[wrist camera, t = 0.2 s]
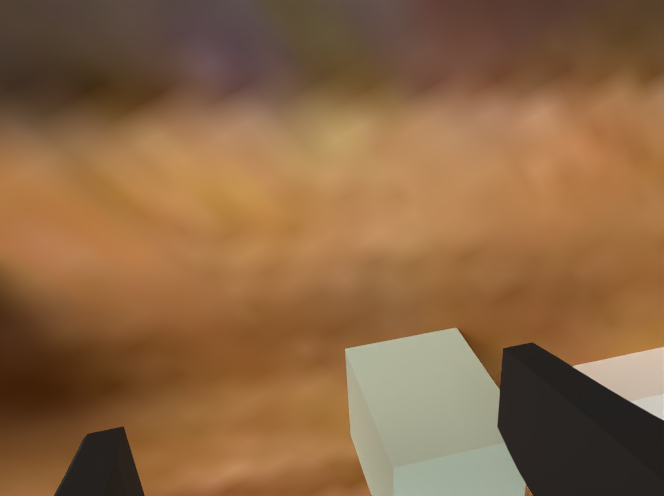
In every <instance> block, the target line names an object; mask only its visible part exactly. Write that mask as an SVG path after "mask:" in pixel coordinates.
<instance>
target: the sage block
mask: <svg viewBox="0 0 664 496" xmlns="http://www.w3.org/2000/svg"><path fill="white" fill-rule="evenodd" d="M345 355H346V371H347V386H348V402H349V418H350V433H351V438H352V441H353V444H354V447H355V449H356V452H357V455H358V458H359V461H360V464H361V467H362V470H363V472H364V475H365V478H366V481H367V484H368V487H369V490H370V493H371V496H524V495H525V488H526V483H525V481H524V480H523V478H522V476H521V475H520V473H519V471H518V469H517V467H516V465H515V463H514V461H513V459H512V457H511V455H510V453H509V451H508V449H507V447H506V445H505V442H504V440H503V438H502V436H501V434H500V432H499V429H498V427H497V423H498V411H499V398H500V390H499V388H498V387H497V385H496V384H495V382H494V381H493V380H492V378H491V377H490V375H489V374H488V372H487V371H486V369H485V368H484V367H483V365H482V364H481V362H480V361H479V359H478V358H477V356H476V355H475V354H474V352H473V351H472V349H471V348H470V346H469V345H468V343H467V342H466V341H465V339H464V338H463V336H462V335H461V333H460V332H459V330H458V329H457V328H451V329H446V330H441V331H436V332H431V333H425V334H420V335H415V336H410V337H405V338H399V339H394V340H389V341H384V342H379V343H373V344H368V345H363V346H358V347H352V348H347V349H345Z"/></svg>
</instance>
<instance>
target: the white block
mask: <svg viewBox="0 0 664 496" xmlns="http://www.w3.org/2000/svg"><path fill="white" fill-rule="evenodd" d="M572 367H574V368H575V369H577V370H579V371H580V372H582V373H583V374H585V375H587V376H588V377H590V378H592V379H593V380H595V381H596V382H598V383H600V384H601V385H603V386H605V387H606V388H608V389H610V390H611V391H613V392H615V393H616V394H618V395H620V396H621V397H623V398H625V399H627V400H628V401H630V402H632V403H633V404H635V405H637V406H639V407H640V408H642V409H644V410H646V411H648V412H649V413H651V414H653V415H655V416H657V417H658V418H660V419H662V420H664V347H661V348H656V349H652V350H647V351H642V352H637V353H632V354H628V355H623V356H618V357H613V358H608V359H604V360H599V361H594V362H589V363H584V364H580V365H575V366H572Z"/></svg>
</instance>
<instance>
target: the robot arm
mask: <svg viewBox="0 0 664 496" xmlns="http://www.w3.org/2000/svg"><path fill="white" fill-rule="evenodd" d="M497 427H498V429H499V432H500V434H501V436H502V438H503V440H504V442H505V445H506V447H507V449H508V451H509V453H510V455H511V457H512V459H513V461H514V463H515V465H516V467H517V469H518V471H519V473H520V475H521V476H522V478H523V480H524V481H525V483H526V484H527V486H528V487H529V489H530V491H531V492H532V494H533V495H534V496H664V420H662V419H660V418H658V417H657V416H655V415H653V414H651V413H649V412H648V411H646V410H644V409H642V408H640V407H639V406H637V405H635V404H633V403H632V402H630V401H628V400H627V399H625V398H623V397H621V396H620V395H618V394H616V393H615V392H613V391H611V390H610V389H608V388H606V387H605V386H603V385H601V384H600V383H598V382H596V381H595V380H593V379H592V378H590V377H588V376H587V375H585V374H583V373H582V372H580V371H579V370H577V369H575V368H574V367H572V366H570V365H569V364H567V363H566V362H564V361H562V360H561V359H559V358H558V357H556V356H554V355H553V354H551V353H549V352H548V351H546V350H544V349H543V348H541V347H539V346H537V345H536V344H534V343H528V344H523V345H518V346H513V347H508V348H503V359H502V372H501V385H500V398H499V411H498V423H497ZM54 496H144V492H143V489H142V486H141V482H140V479H139V476H138V473H137V469H136V466H135V463H134V460H133V456H132V453H131V450H130V446H129V443H128V440H127V437H126V433H125V430H124V427H119V428H114V429H109V430H105V431H100V432H95V433H90V434H87V436H86V437H85V438H84V439H83V441H82V443H81V445H80V447H79V449H78V451H77V453H76V455H75V457H74V459H73V461H72V463H71V465H70V466H69V468H68V470H67V472H66V474H65V476H64V478H63V480H62V482H61V484H60V486H59V487H58V489H57V491H56V493H55V495H54Z"/></svg>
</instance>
